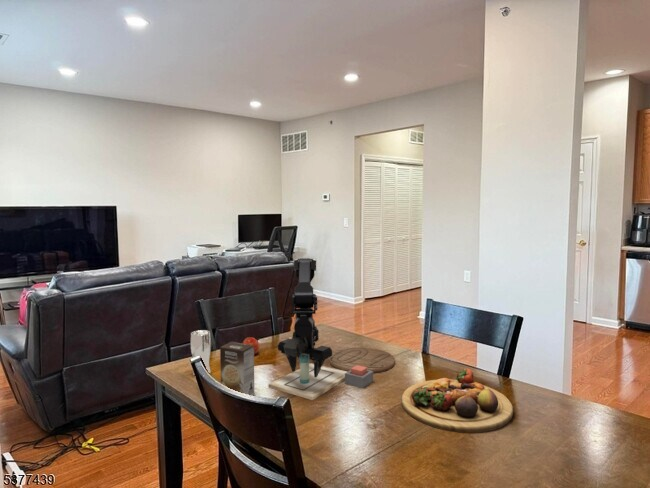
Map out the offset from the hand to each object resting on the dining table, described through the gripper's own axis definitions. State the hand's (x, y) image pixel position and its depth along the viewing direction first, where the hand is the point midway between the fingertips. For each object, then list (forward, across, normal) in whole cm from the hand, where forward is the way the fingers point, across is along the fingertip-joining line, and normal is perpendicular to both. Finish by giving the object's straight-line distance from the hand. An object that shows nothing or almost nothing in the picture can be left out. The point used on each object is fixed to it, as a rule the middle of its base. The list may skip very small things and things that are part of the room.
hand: (304, 374), depth 150 cm
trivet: (+4, +5, +30) cm, 31 cm away
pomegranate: (+4, -37, +13) cm, 39 cm away
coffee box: (+4, -13, -18) cm, 23 cm away
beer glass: (+4, -37, -12) cm, 39 cm away
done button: (+2, +14, +12) cm, 19 cm away
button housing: (+4, +14, +12) cm, 19 cm away
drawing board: (+4, 0, +4) cm, 6 cm away
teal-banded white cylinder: (+3, 0, 0) cm, 3 cm away
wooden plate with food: (+4, +47, +12) cm, 49 cm away
